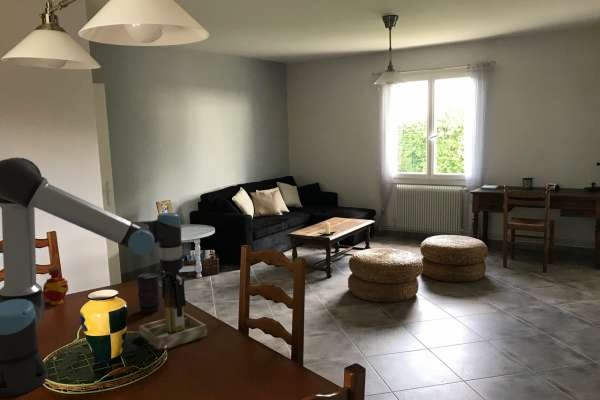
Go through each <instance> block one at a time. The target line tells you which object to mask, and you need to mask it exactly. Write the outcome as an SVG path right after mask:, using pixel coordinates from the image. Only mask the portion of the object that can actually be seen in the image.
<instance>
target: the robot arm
mask: <svg viewBox="0 0 600 400" xmlns="http://www.w3.org/2000/svg"><path fill="white" fill-rule="evenodd" d="M0 209H1V225H2V226H1V229H2V261H3V262H2V263H3V265H2V266H3V286H2V287H1V288H0V398H11V397H16V396H20V395H23V394H25V393H28V392H30V391H33V390H35V389H37V388H39V387H41V386H42V385H44V383H45V382H46V381H45V379H47V380H48V377H49V374H48V368H47V366H46V364H45V362H44V360H43V359H42V357H41V354H40V353H39V344H38V335H37V333H38V331H37V330H38V329H37V328H38V327H39V324H40V322H41V320H42V319H43V316H44V313H45V301H44V298H43V292H42V291H43V286H42V285H40V284H39V283H38V282H37V263H36V261H37V260H36V258H37V257H36V220H35V218H36V217H35V215H36V214H35V213H36V212H35V209H38V210H40V211H42V212H45V213H47V214H49V215H52V216H54V217H57V218H58V219H60V220H63V221H65V222H68V223H69V224H72V225H74V226H77V227H79V228H81V229H84V230H87V231H88V232H90V233H92V234H95V235H98V236H99V237H102V238H105V239H107V240H109V241H112V242H114V243H116V244H119V245H120V246H122V247H124V248H127V249H129V250H130V251H131V252H132V253H133V254H135V255H138V256H143V255H148V254H149V253H150V252H151V251H152V250H153V249H154V247H155V243H158V250H159V251H158V253H159V254H158V255H159V258H160V260H159V265H160V267H159V268H160V270H161V271H160V276H161V277H160V278H161V298H162V300H164V296H165V294H166V292H167V290H166V289H167V288H166V283H165V279H167V278H168V280H169V282H170V288H171V289H172V292H173V297H174V302H175V307H173V308H174V316H175V326H179V325H182V324H183V313H184V309H183V310H182V307H183V308H184V307H186V305H187V304H186V293H185V278H184V277H182V278H181V273H180V270H182V269H183V268H184V265H183V264H184V261H183V245H182V243H183V242H182V226H181V224H182V223H181V217H180V214H178V213H177V212H164V213H163V212H162V213H160V214H158V215H157V219H154V220H147V221H146V220H145V221H142V220H141V221H130V220H127V219H125V218H123V217H121V216H120V215H117V214H114V213H113V212H110V211H108V210H106V209H103V208H102V207H99V206H97V205H95V204H93V203H92V202H89V201H86V200H84V199H82V198H80V197H78V196H77V195H74V194H71V193H70V192H67V191H65V190H63V189H61V188H59V187H56V186H55V185H52V184H50V183H49V181H48V179H47V178H46V177H45V176H42V172H41V170H40V168H39V167H38V166H37V164H36V163H35V162H33V161H31V160H30V159H27V158H24V157H10V158H5V159H2V160H0ZM173 285H175V286H173ZM44 381H45V382H44Z"/></svg>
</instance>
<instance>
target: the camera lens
mask: <svg viewBox="0 0 600 400" xmlns="http://www.w3.org/2000/svg"><path fill="white" fill-rule="evenodd" d="M159 280H160V279H159V275H158V274H157V273H153V272H146V273H141V274H139V275H138V276H137V288H138V289H137V290H138V293H137V296H138V305H139V309H140V310H141V313H142V314H144V315H145V314H147V315H149V314H154V313H156V312H158V311H159V307H160V294H159V293H160V291H159V290H160V289H159V287H160V284H159Z"/></svg>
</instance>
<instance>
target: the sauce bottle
mask: <svg viewBox="0 0 600 400" xmlns="http://www.w3.org/2000/svg"><path fill="white" fill-rule="evenodd" d="M165 283H166V288H167V289H166V290H167V292H166V294H165V296H164V299H163V302H164V305H163V306H164V307H163V308H164V316H165V317H164V319H166V330H167V333H168V334H169V335H171V334H175V333H178V332H181V331H184V330H185V329H184V327H185V324H184V313H185V312H183V324H182V325H179V326H175V316H174V308H173V307H175V302H174V297H173V292H172V289H171V288H170V282H169V280H168V278H167V279H165ZM173 286H175V285H173ZM182 310H183V311H184V307H182Z"/></svg>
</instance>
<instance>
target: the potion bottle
mask: <svg viewBox="0 0 600 400" xmlns="http://www.w3.org/2000/svg"><path fill="white" fill-rule="evenodd" d="M59 269H60V268H59V267H58V268H57V267H52V268H49V269H48V275H49V276H50V278H47V279H46V281H45V283H44V284H43V286H42V294H43V296H44V297H45V298H47V299H48V300H49V301H50V305H53V306H55V305H60V304H63V303H64V300H63V299H64V298H65V296H66V294H67V293H68V292H69V285H68V280H67V279H66V278H64V277H60V276H59V274H61V271H60V270H59Z"/></svg>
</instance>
